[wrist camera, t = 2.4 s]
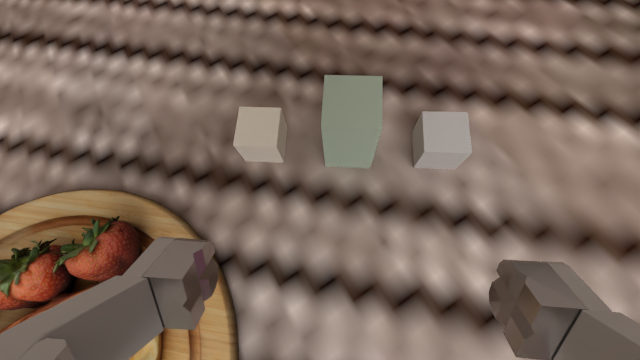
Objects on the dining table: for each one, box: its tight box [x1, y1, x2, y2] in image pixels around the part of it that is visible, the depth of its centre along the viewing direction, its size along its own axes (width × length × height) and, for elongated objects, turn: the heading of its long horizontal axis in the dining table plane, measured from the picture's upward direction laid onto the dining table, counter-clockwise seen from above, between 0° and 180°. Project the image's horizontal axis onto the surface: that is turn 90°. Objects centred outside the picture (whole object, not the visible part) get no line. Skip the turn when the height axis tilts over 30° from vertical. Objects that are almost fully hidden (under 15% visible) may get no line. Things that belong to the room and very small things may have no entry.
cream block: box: [233, 107, 288, 163], centre depth 30 cm, size 4×4×4 cm
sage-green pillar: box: [321, 75, 382, 168], centre depth 27 cm, size 4×4×8 cm
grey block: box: [412, 111, 472, 169], centre depth 28 cm, size 4×4×4 cm
